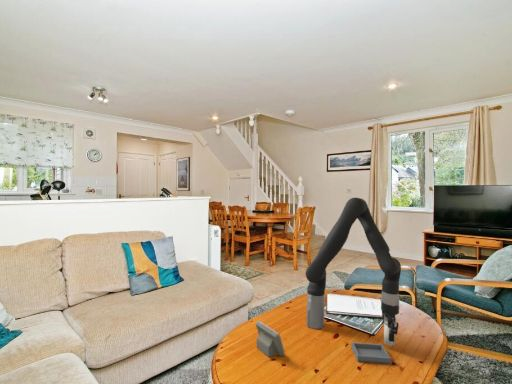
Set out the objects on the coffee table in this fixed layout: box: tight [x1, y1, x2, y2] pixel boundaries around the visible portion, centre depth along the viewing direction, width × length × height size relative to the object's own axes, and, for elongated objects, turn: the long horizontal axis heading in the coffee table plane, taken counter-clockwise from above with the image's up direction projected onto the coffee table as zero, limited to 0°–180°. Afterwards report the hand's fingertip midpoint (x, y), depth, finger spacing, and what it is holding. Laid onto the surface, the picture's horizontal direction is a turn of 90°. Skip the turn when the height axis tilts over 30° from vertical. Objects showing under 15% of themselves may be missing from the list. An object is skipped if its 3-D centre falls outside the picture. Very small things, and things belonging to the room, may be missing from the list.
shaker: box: [383, 320, 396, 347], centre depth 124 cm, size 5×5×10 cm
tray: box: [350, 341, 392, 365], centre depth 118 cm, size 14×11×2 cm
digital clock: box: [255, 320, 286, 358], centre depth 121 cm, size 16×9×11 cm, turn 25°
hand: (389, 338), depth 124 cm, fingers closed on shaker, 4 cm apart
